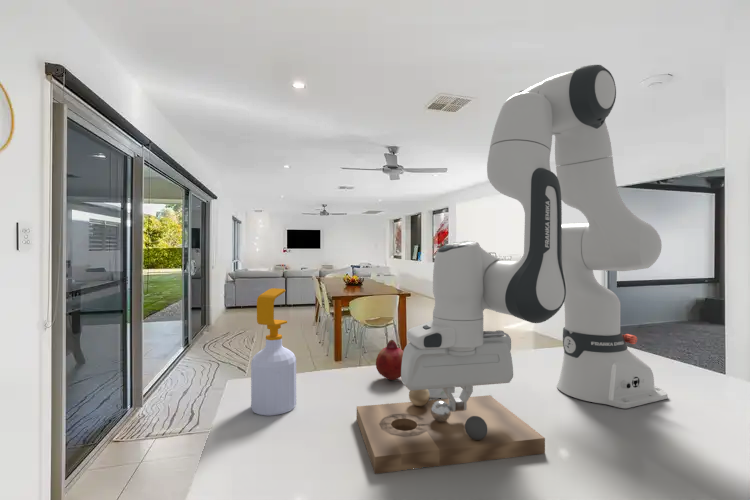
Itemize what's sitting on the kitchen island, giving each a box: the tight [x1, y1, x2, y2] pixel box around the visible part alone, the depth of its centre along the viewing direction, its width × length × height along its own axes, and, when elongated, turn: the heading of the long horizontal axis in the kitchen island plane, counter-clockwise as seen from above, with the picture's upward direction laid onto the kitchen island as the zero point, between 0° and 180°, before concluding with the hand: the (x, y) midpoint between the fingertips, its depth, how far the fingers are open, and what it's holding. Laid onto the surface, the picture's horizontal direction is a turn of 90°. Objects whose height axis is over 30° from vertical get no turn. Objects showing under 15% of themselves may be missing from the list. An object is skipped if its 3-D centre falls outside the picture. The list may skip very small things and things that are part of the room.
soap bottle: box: [250, 287, 297, 416], centre depth 79 cm, size 9×9×25 cm
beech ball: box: [408, 389, 431, 406], centre depth 74 cm, size 4×4×4 cm
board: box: [356, 394, 546, 475], centre depth 67 cm, size 28×18×2 cm, turn 101°
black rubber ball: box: [465, 416, 487, 440], centre depth 61 cm, size 4×4×4 cm
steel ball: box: [431, 401, 451, 422], centre depth 67 cm, size 4×4×4 cm
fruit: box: [375, 339, 404, 381], centre depth 95 cm, size 8×8×10 cm
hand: (457, 409), depth 68 cm, fingers closed
